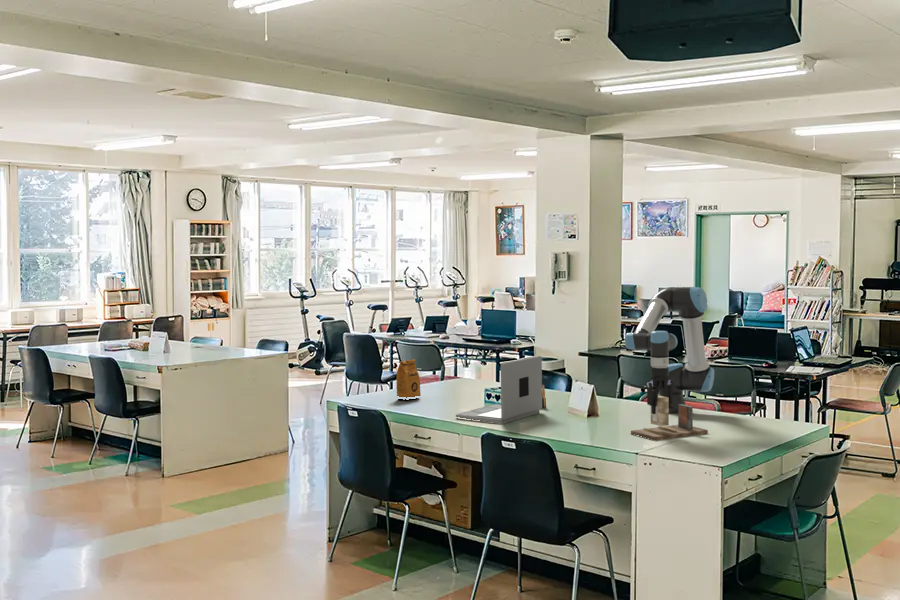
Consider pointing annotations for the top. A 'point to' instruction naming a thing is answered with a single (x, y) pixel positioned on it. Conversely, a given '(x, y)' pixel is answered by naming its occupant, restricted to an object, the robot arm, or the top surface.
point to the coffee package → (408, 379)
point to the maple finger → (662, 411)
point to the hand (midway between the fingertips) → (659, 420)
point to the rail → (673, 427)
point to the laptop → (514, 393)
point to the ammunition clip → (543, 398)
